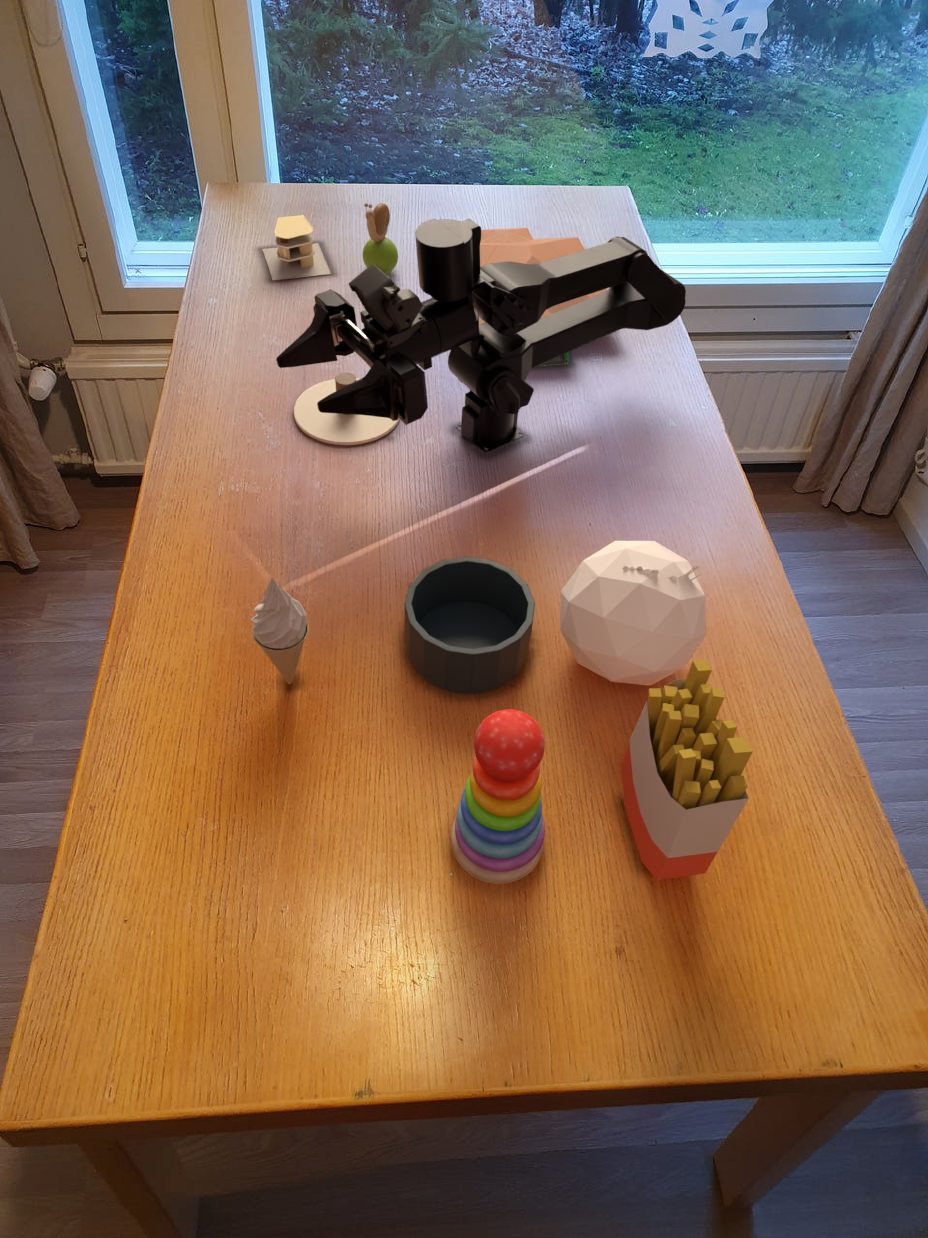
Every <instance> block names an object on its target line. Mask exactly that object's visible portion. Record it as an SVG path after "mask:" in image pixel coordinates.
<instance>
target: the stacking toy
mask: <svg viewBox="0 0 928 1238" xmlns="http://www.w3.org/2000/svg"><path fill="white" fill-rule="evenodd" d="M545 744H546V742H545V737H544V733H543V731H542V729H541V727H540V726H539V723H538V722H537V721H536V720H535V719H534V718H533V717H532V716H530V715H529V714H527V713H525V712H524V711H521V710H517V709H513V708H510V709H508V708H507V709H501V710H496V711H494V712H492V713H491V714H489V715H488V716H486V717H485V718H484V719H483V720H482V722H480V724H479V725H478V727H477V729H476V731H475V735H474V738H473V750H474V757H473V761H472V769H471V771H470V774H469V776H468V777H467V780H466V781H465V784H464V788H463V790H462V794H461V797H460V800H459V802H458V806H457V812H456V816H455V818H454V820H453V821H452V824H451V828H450V835H449V837H450V838H449V841H450V847H451V850H452V851H451V852H452V853H453V856H454V858H455V860H456V861H457V864H458V865H459V866H460V867H461V868H462V869H463V870H464V871H465V872H466V873H467V874H468V875H470V876H471V877H473V878H475V879H476V880H479V881H480V882H483V883H488V884H495V885H504V884H505V885H506V884H511V883H514V882H517V881H519V880H521V879H524V878H525V877H526V876H528V875H529V874H530V873H531V872H532V871H533V870H534V869H535V868H536V867H537V865H538V864H539V862H540V860H541V858H542V855H543V853H544V850H545V836H546V824H545V820H544V816H543V804H542V803H543V802H542V788H543V782H542V775H541V766H540V764H541V761H542V760H543V757H544V754H545V746H546V745H545Z"/></svg>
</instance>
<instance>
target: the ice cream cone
mask: <svg viewBox="0 0 928 1238" xmlns="http://www.w3.org/2000/svg"><path fill="white" fill-rule="evenodd" d="M262 596H263V598H262V599H261V600H260V601H259V604H257V605H256V606H255V607H254V608H253V612H254V613H257V614H256V615H254V616H252V617H251V618H250V622H251V623H253V626H252V633H251V634H252V637H253V640H254V642H255V643H256V644H257V645H258V646H259V647H260V648H261V649H262V651H263V652H264V653H265V654H266V656H267V657H268V658H269V660H270V661H271V663H272V664H273V665H274V667H275V668H276V670H277V671H278V672H279V674H280V675H281V676H282V678H283V679H284V680H285V681H286V683H287V685H292V684H293V682H294V679H295V675H296V672H297V668H298V665H299V661H300V658H301V655H302V650H303V648H304V647H303V646H304V643H305V639H306V638H307V636H308V634H309V629H310V626H309V622H308V620H307V619H308V616H307V615H308V614H307V611H306V610H305V609H304V607H303V605H302V604H301V602H300V601H299V600H297V599H295V598H293V597H292V596H291V595H290V593H288V592H287V591H286V590H285V588H283V587H282V586H280V584H278V582H276V580H275V579H274V577H271V578H270V581H269V583H268V585H267V588H266V590H265V591H264V592H263V593H262Z"/></svg>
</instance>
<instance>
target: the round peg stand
mask: <svg viewBox="0 0 928 1238" xmlns="http://www.w3.org/2000/svg"><path fill="white" fill-rule="evenodd" d="M359 379H361V378H358V377H357V376H356V375H355V374H354V373H351V372H340V373H338V374H336V376H335V377H334V378H332V379H328V380H323V381H320V382H318V383H316V384H314V385H312V386H310V387H308V388H307V389H305V390H304V391H303V392H302V393H301V394H300V395H299V396H298V398H297V400H296V401H295V403H294V408H293V416H294V421H295V424H296V425H297V426H298V428H299V429H300V431H302V432H303V433H304V434H305V435H307V436H309V437H310V438H312V439H314V440H316V441H319V442H322V443H325V444H329V445H335V446H358V445H363V444H367V443H372V442H374V441H376V440H379V439H382V438H383V437H385V436H386V435H388V434H389V433H391V432H392V431H393V430H394V429H395V428H396V426H397V425H398V423H399V422H400V421H401V420H400V419H399V418H398V420H396V421H392V420H391V419H390V418H384V417H376V416H367V415H355V414H339V413H321V412H320V411H319V410H318V406H317V403H318V402H319V401H320V400H322V399H323V398H325V397H326V396H328V395H330V394H332V393H334V392H336V391H338V390H340V389H342V388H344V387H346V386H348V385H350V384H352V383H353V382H355V381H357V380H359Z"/></svg>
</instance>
